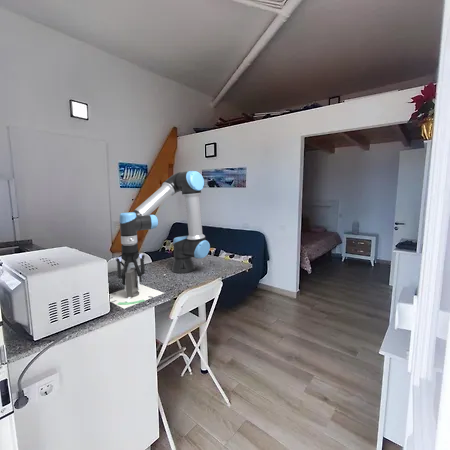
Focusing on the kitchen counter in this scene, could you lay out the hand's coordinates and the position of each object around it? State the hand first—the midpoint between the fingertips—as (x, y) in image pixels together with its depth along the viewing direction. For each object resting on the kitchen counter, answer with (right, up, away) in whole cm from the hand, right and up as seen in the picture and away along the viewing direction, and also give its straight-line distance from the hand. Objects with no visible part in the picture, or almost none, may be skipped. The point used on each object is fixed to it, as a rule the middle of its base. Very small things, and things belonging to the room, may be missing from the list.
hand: (132, 289), depth 127 cm
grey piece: (0, -3, -2) cm, 4 cm away
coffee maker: (-13, 0, +35) cm, 37 cm away
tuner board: (0, -4, +1) cm, 4 cm away
